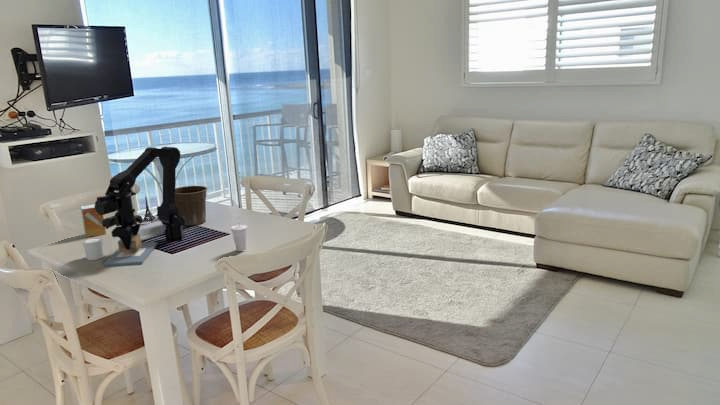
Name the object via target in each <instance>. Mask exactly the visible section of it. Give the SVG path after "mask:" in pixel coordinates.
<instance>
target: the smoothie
mask: <svg viewBox="0 0 720 405" xmlns="http://www.w3.org/2000/svg"><path fill="white" fill-rule="evenodd" d="M240 217H241V216H240V215H238V217H237V218H238V224H236V225H233V226H231V227H230V231H231V232H232V236H233V240H234V242H233V243H234V245H235V250H236V252H238V251H243V250H245V251H247V237H248V236H247V232H248V231H247V230H248V226H247V225H245V224H241V219H240ZM243 252H244V251H243Z"/></svg>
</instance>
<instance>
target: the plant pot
mask: <svg viewBox="0 0 720 405" xmlns="http://www.w3.org/2000/svg"><path fill="white" fill-rule="evenodd" d="M207 190H208V187H207V186H204V185H188V186H186V185H185V186H181V187H175V203H176V205H177V207H178V210H179V216H181V217H182V218H183V219H185V225H183V226H188V227H190V226H199V225H201V224H204V223H205V222H206V221H207V220H206V217H207V216H206V215H207V214H206V208H207V207H206V204H207V203H206V201H207V200H206V199H207V198H206V197H207Z"/></svg>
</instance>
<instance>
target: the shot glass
mask: <svg viewBox="0 0 720 405" xmlns="http://www.w3.org/2000/svg"><path fill="white" fill-rule="evenodd" d="M82 246H83V249H84V252H85V256H86V260H88V261H95V260H100V259H101V258H103V257H104V250H103V239H102V238H100V237H93V238H88V239H85V240H83V241H82Z"/></svg>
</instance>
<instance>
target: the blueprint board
mask: <svg viewBox="0 0 720 405" xmlns="http://www.w3.org/2000/svg"><path fill="white" fill-rule="evenodd" d="M141 243H142V246H141V247H140V248H139V250H138V251H132V252H119V247H118V248H117V249H116V250H115V251H114V252H113V253H112V255H111V256H109V257H108V259H107V260H106V261H105V262H104V263H103V264H102V265H103V267H115V266H116V267H119V266H131V265H133V266H134V265H143V264H144V263H145V262H146V260H147V259H148V258H149V256H150V255H151V254H152V252H153V251H154V249H156V247H157V246H156V245H158V241H154V242H152V241H150V242H141Z"/></svg>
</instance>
